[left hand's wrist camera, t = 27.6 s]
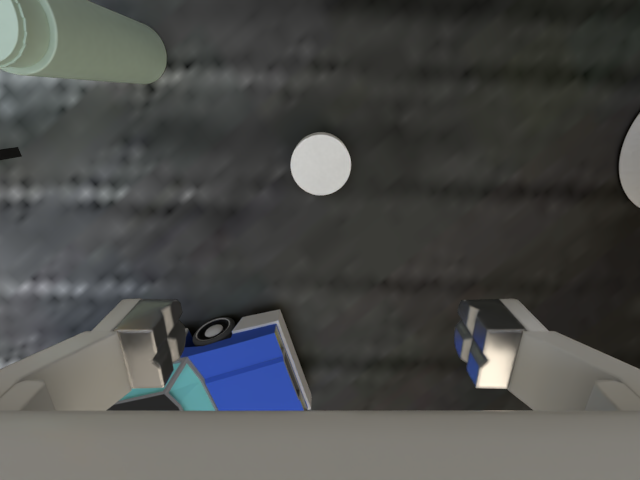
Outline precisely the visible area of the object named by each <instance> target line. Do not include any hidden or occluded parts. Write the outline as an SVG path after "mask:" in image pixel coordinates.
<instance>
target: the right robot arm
mask: <svg viewBox="0 0 640 480" xmlns="http://www.w3.org/2000/svg"><path fill="white" fill-rule="evenodd" d="M15 157H21V153H20V151H19V149H18V147H16V148H9V149H1V150H0V160H4V159H9V158H15Z"/></svg>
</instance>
